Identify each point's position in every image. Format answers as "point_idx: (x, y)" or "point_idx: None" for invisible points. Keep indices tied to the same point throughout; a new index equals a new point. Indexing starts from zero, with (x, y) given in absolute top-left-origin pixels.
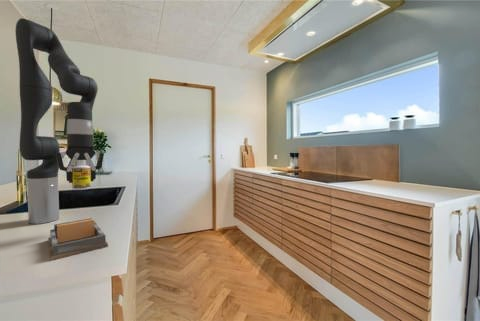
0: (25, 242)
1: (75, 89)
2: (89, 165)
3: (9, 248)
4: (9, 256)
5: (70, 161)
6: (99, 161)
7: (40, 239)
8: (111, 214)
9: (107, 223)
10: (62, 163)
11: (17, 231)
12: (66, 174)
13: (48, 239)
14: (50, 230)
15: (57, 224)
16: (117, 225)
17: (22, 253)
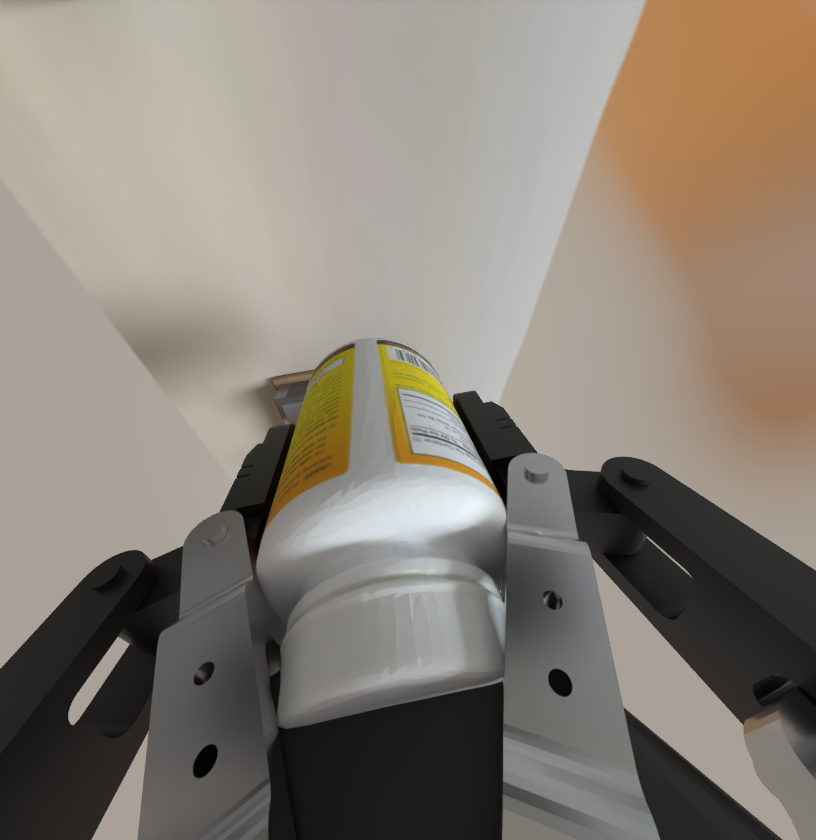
0: (201, 362)
1: None
2: (500, 588)
3: (180, 396)
4: (221, 452)
5: (186, 693)
6: (675, 634)
7: (242, 354)
8: (525, 24)
9: (463, 268)
10: (143, 725)
11: (36, 145)
12: (230, 502)
13: (276, 385)
14: (277, 405)
15: (294, 410)
16: (490, 324)
17: (245, 447)
